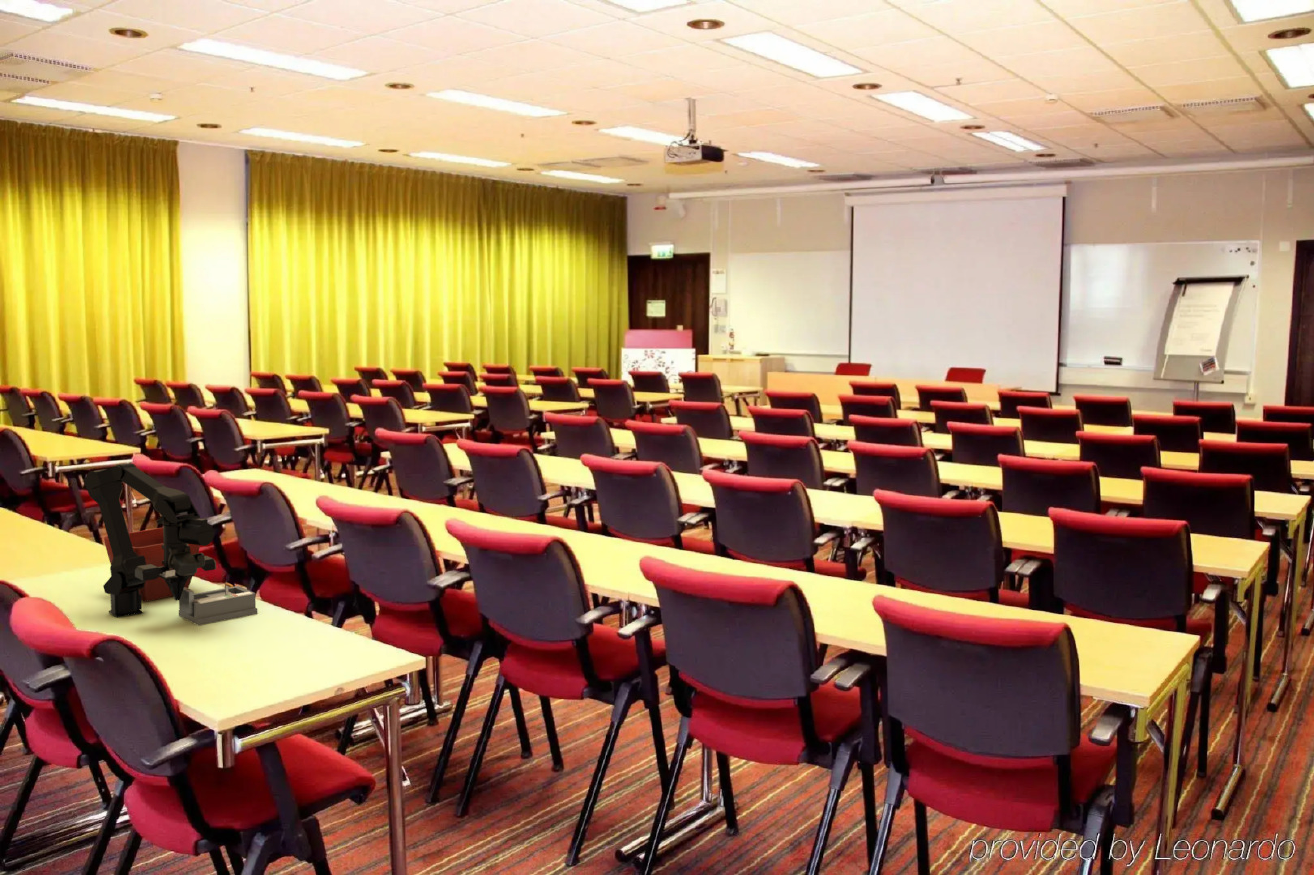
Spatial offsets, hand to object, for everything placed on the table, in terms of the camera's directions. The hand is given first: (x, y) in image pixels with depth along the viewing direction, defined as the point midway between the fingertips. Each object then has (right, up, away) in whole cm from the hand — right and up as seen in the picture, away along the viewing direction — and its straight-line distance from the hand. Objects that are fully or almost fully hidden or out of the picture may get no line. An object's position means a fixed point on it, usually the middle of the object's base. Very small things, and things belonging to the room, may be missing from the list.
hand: (177, 600), depth 271 cm
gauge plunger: (+6, -4, +6) cm, 9 cm away
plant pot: (-19, -3, +26) cm, 32 cm away
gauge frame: (+7, -5, +9) cm, 12 cm away
